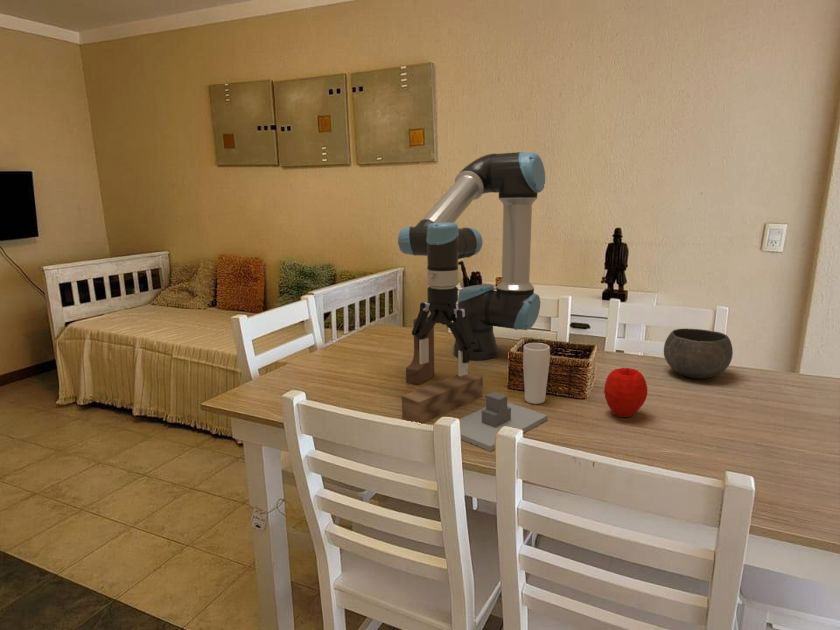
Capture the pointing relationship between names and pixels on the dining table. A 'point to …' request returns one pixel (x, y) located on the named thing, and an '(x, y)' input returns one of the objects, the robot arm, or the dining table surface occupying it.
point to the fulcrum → (497, 420)
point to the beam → (441, 397)
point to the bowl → (698, 352)
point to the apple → (625, 391)
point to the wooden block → (418, 371)
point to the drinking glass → (535, 371)
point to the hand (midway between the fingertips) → (443, 368)
